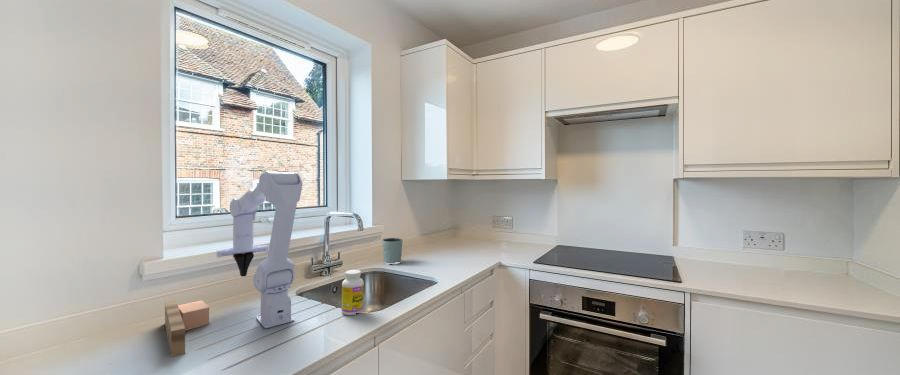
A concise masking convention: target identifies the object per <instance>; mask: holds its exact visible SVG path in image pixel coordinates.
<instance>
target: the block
mask: <svg viewBox="0 0 900 375" xmlns="http://www.w3.org/2000/svg"><path fill="white" fill-rule="evenodd" d="M177 305H178V308H179V311H180V314H181V317H182V320H183V323H184V326H185V331H188V330H191V329H195V328H199V327H203V326H206V324H207V325H209V324H210V307H209V305H208V304H206V302H204V300H203V299H202V300H197V301H192V302H187V303H183V304H177Z"/></svg>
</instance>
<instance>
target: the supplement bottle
mask: <svg viewBox="0 0 900 375" xmlns="http://www.w3.org/2000/svg"><path fill="white" fill-rule="evenodd" d="M344 274H345V279H344V280H343V281H342V282H341V313H342V314H343V315H345V316H356V313H359V314H361V313H363V310H364V298H365V297H364V291H365V289H364V286H365V282H364V280H363V278H361V275H362V272H361V270H360V269H350V270H349V269H348V270H346V271H345V273H344Z"/></svg>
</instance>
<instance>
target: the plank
mask: <svg viewBox="0 0 900 375" xmlns="http://www.w3.org/2000/svg"><path fill="white" fill-rule="evenodd" d="M178 305H179V304H178V302H177V300H174V301H173V300H172V301H168V302H164V326H165V331H166V335H167V341H168V346H169V350H170V352H169V353H170V355H171V356H170V357H171V358H174V357H176V356H181V355H184V354H186V330H185V326H184V323H183V320H182V317H181V314H180V311H179V308H178Z"/></svg>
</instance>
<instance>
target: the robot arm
mask: <svg viewBox="0 0 900 375" xmlns="http://www.w3.org/2000/svg"><path fill="white" fill-rule="evenodd" d="M303 184H304V183H303V181H302V178H301V176H300V174H299V173H298V172H296V171H293V172H292V171H291V172H290V171H288V172H287V171H268V170H265V171H263V172H262V173H261V174H260V175H259V178H258V184H257V185H256V186H255V187H254V188H251V187H250V188H248V189H247V191H245V193H244V194H243V195H241V197H239V198H232V199H231V201H230V202H229V213H230V215H231V216H232V219H233V220H232V228H233V229H232V232H233V233H232V236H233V237H232V246H233V247H232V248H225V249H219V250H218V249H217V250H216V258H222V257H230V256H232V257H233V259H234V260H235V262H236V264H237V266H238V267H237V268H238V270H239V275H240V277H242V278H243V277H247V274H248V270H249V267H250V264H251V262H252V261H253V259H254V256H255V253H262V252H266V253H267V256H266V258H264V259H263V260H261V262H259V263H258V264H257V268H256V270H255V273H254V274H253V279H252V280H253V281H252V282H253V286H254V288H255V290H257V292H259V293H260V315H257V316H256V320H257V321H258V322H259V324H260V326H262V327H263V328H264V329H268V328H273V327H276V326H280V325H284V324H287V323H292V322H294V321H295V318H294V317H293V316H292V299H291V298H290V296H289V289H290V288H291V285H292V284H293V283H294V281H295V279H296V272H295V267H296V265H295V263H294V262H293V260H292V259H290V258H288V256H289V248H290V243H291V239H292V233H293V228H294V221H295V216H296V210H297V204H298V203H299V202H300V200H301V195H302V189H303ZM265 199H266V201H267V202H268V203H269V204H270V205H274V206H275V209H274V210H275V211H274V217H273V222H272V227H271V228H272V229H271V233H270V240H269V245H267V244H265V245H264V244H263V245H254V222H255V221H256V214H257V211H258V208H259V207H260V206H261V205H262V204H263V203H264V202H265Z"/></svg>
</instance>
